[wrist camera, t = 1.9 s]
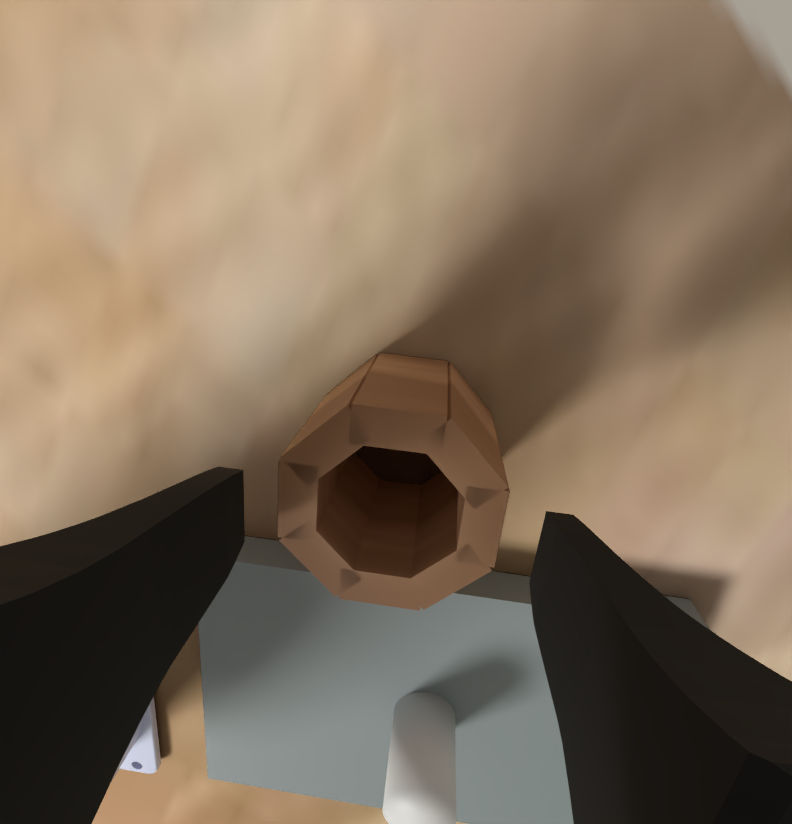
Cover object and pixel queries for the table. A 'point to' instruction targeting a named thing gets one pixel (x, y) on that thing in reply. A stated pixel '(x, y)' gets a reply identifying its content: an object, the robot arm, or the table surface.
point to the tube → (395, 486)
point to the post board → (383, 696)
